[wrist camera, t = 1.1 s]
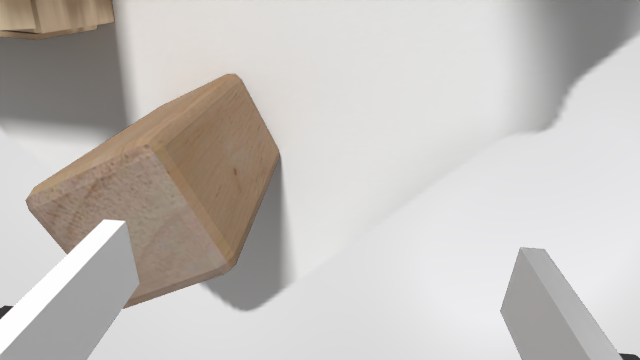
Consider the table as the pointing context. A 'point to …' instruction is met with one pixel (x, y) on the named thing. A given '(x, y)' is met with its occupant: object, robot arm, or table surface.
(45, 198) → the wooden block
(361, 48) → the table surface
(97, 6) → the carton
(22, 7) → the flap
